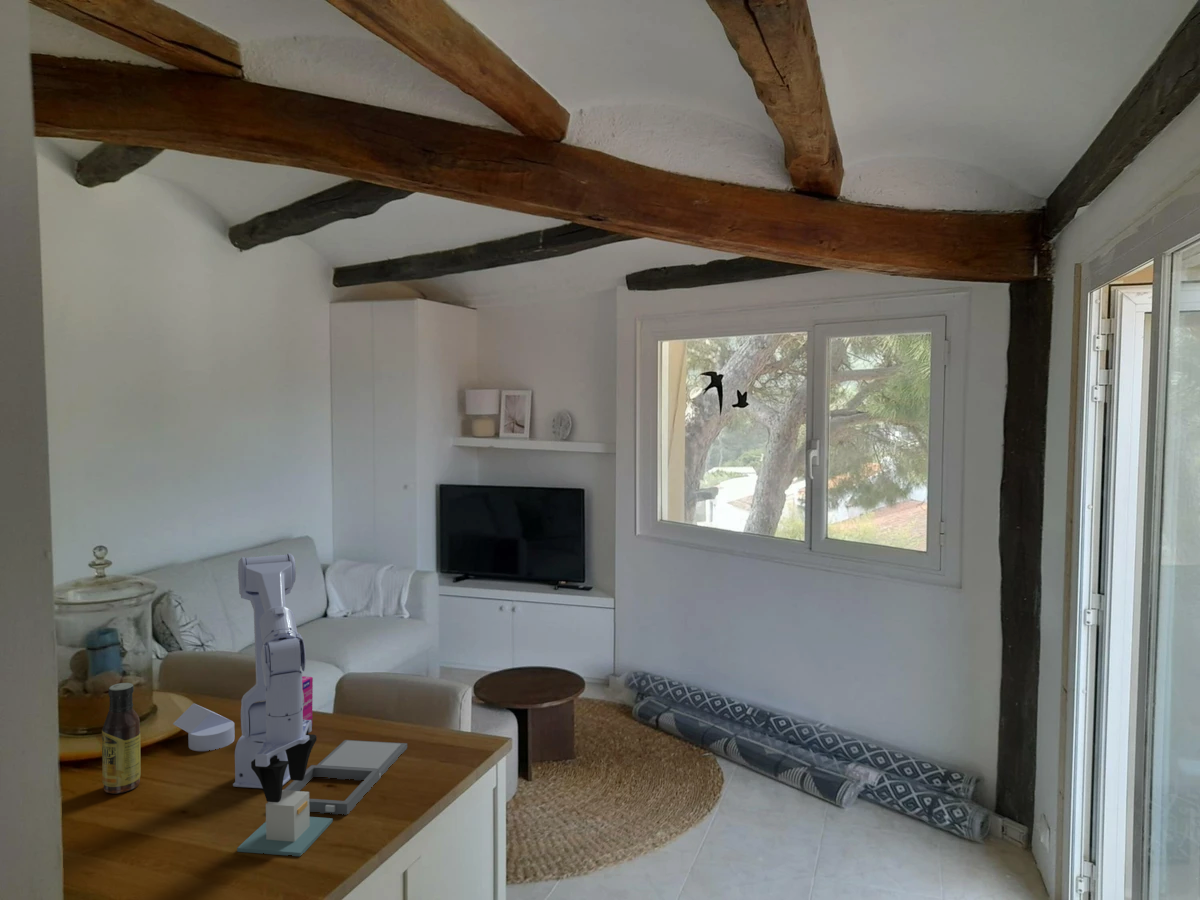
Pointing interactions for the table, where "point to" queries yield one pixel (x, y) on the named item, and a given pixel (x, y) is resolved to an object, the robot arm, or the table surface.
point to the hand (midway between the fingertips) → (285, 790)
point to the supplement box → (307, 697)
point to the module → (288, 816)
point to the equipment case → (351, 771)
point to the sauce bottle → (121, 742)
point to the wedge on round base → (206, 728)
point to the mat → (297, 848)
